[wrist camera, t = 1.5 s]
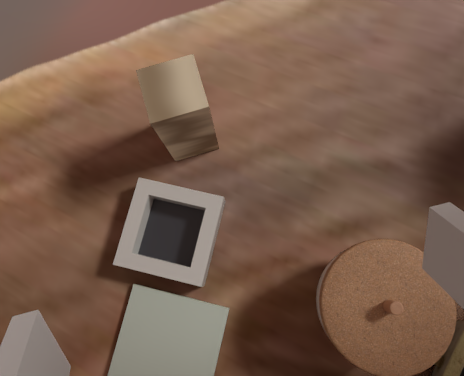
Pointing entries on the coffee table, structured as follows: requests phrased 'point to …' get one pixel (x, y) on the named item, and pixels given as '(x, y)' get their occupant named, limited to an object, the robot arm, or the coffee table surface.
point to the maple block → (178, 107)
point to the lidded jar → (385, 308)
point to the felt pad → (168, 335)
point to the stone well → (170, 232)
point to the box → (452, 355)
